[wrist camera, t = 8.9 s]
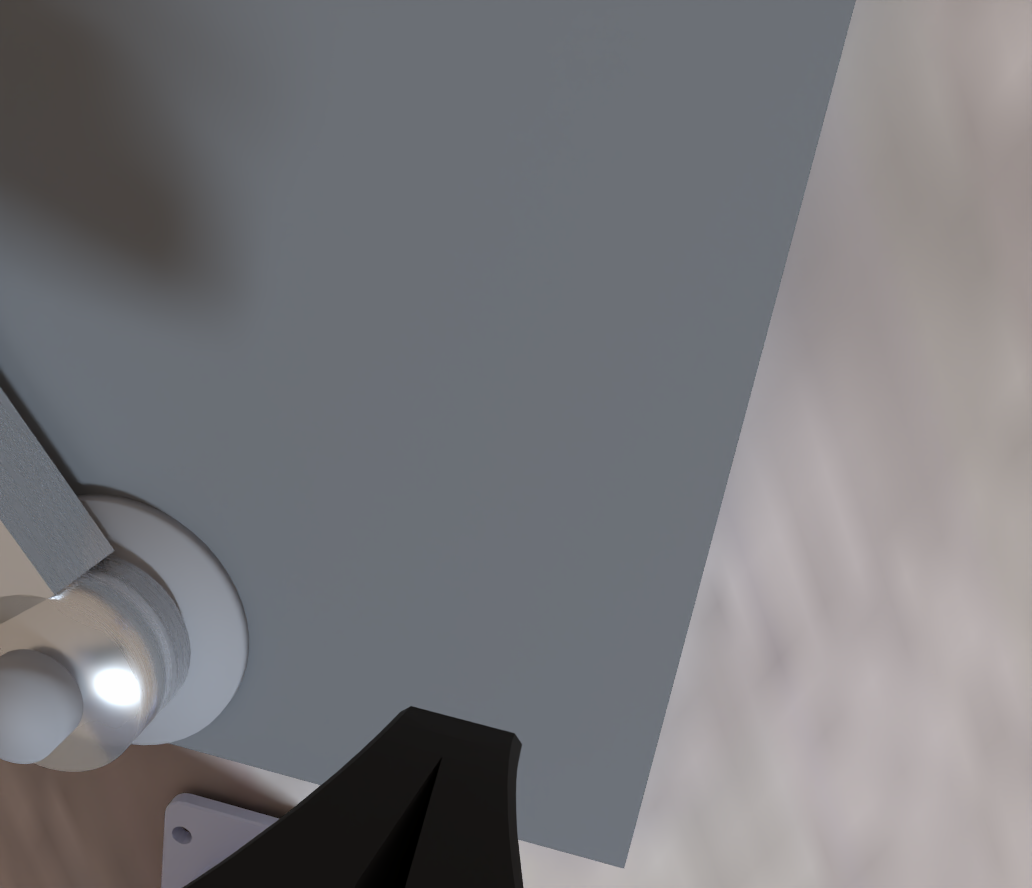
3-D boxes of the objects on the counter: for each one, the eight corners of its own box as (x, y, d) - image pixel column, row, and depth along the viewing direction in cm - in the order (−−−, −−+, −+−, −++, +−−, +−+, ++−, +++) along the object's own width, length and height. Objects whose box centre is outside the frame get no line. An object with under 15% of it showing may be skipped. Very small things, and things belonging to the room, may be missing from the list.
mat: (627, 836, 22) (607, 1019, 18) (-389, 561, 25) (-623, 657, 21) (975, -479, 14) (1102, -758, 9) (-606, -647, 17) (-1072, -916, 13)
